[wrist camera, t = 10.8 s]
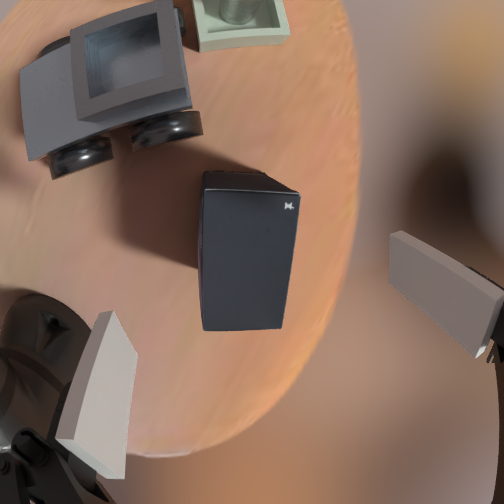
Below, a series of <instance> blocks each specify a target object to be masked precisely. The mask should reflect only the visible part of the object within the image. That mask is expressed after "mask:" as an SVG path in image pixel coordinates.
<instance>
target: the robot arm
mask: <svg viewBox="0 0 504 504" xmlns="http://www.w3.org/2000/svg"><path fill="white" fill-rule="evenodd" d="M389 283H390V284H391V285H392V286H393V287H394V288H396V289H397V290H398V291H399V292H400V293H402V294H403V295H404V296H405V297H407V298H408V299H409V300H410V301H411V302H413V303H414V304H415V305H416V306H417V307H418V308H420V309H421V310H422V311H423V312H424V313H426V315H428V316H429V317H430V318H431V319H432V320H433V321H434V322H436V323H437V324H438V325H439V326H440V327H441V328H442V329H444V330H445V331H446V332H447V333H448V334H449V335H450V336H451V337H452V338H453V339H454V340H456V341H457V342H458V343H459V344H460V345H461V346H462V347H463V348H464V349H465V350H466V351H467V352H468V353H470V355H472V356H473V357H474V358H477V357H478V356H479V355H480V354H481V353H483V352H484V351H485V350H486V348H487V346H488V343H489V341H490V338H491V339H492V340H493V341H494V344H493V346H492V349H491V351H490V353H489V356H488V358H487V363H489V361H490V359H491V357H492V356H493V355H494V358H493V361H492V363H495V369H496V377H497V387H498V399H499V427H500V428H499V429H500V430H499V455H498V467H497V476H496V485H495V491H494V496H493V501H492V503H491V504H504V288H503V287H501V286H500V285H498V284H496V283H495V282H494V281H492V280H490V279H489V278H488V279H487V277H486V276H484V275H482V274H480V273H479V272H478V271H476V270H474V269H473V268H471V267H468V266H465V265H462V264H461V263H459V262H457V261H456V260H454V259H452V258H450V257H449V256H447V255H445V254H443V253H442V252H440V251H438V250H436V249H434V248H433V247H431V246H429V245H427V244H426V243H424V242H422V241H420V240H418V239H416V238H414V237H413V236H411V235H409V234H407V233H405V232H403V231H398V232H395V233H392V234H390V261H389ZM137 360H138V354H137V353H136V351H135V349H134V348H133V346H132V344H131V342H130V341H129V339H128V337H127V335H126V333H125V331H124V330H123V328H122V326H121V324H120V322H119V320H118V318H117V316H116V314H115V312H114V310H112V311H108V312H104V313H100V314H99V315H98V318H97V320H96V322H95V325H94V327H93V329H92V331H91V330H90V328H89V327H88V326H87V325H86V323H85V322H84V321H83V320H82V319H81V318H80V317H79V316H78V315H77V314H76V313H74V312H73V311H72V310H71V309H69V308H68V307H66V306H65V305H63V304H62V303H60V302H58V301H56V300H54V299H52V298H49V297H46V296H42V295H27V296H24V297H21V298H20V299H18V300H17V301H16V302H15V304H14V305H13V306H12V307H11V308H10V310H9V311H8V313H7V314H6V317H5V320H4V324H3V327H2V331H1V334H0V504H30V501H31V502H34V503H35V504H116V503H115V501H114V500H113V499H112V497H111V496H110V495H109V493H108V492H107V491H106V490H105V488H104V487H103V485H102V484H101V483H100V482H99V481H98V480H97V479H96V472H98V473H99V474H101V475H102V476H104V477H105V478H109V479H124V478H125V477H124V476H125V460H126V459H125V458H126V446H127V435H128V425H129V416H130V407H131V400H132V392H133V385H134V379H135V372H136V366H137Z"/></svg>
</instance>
